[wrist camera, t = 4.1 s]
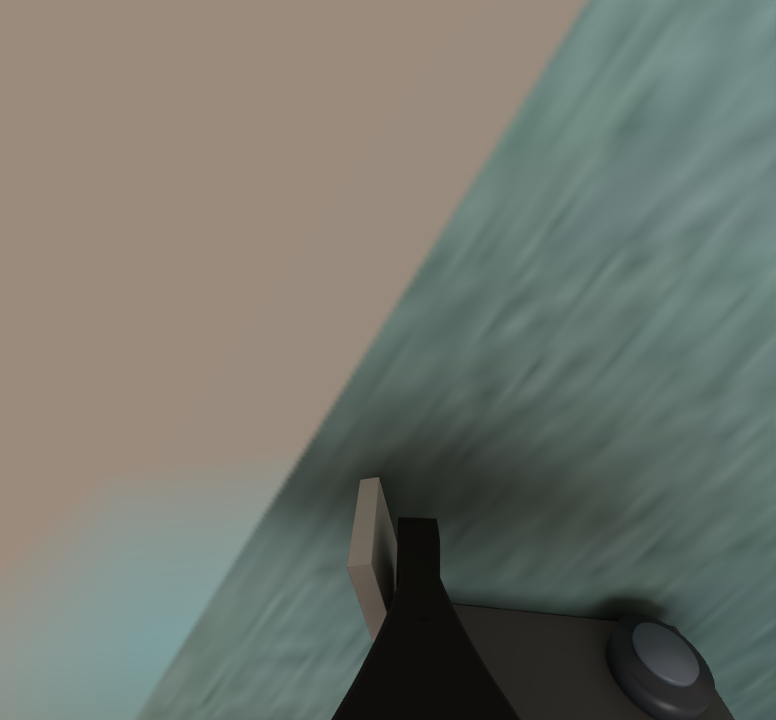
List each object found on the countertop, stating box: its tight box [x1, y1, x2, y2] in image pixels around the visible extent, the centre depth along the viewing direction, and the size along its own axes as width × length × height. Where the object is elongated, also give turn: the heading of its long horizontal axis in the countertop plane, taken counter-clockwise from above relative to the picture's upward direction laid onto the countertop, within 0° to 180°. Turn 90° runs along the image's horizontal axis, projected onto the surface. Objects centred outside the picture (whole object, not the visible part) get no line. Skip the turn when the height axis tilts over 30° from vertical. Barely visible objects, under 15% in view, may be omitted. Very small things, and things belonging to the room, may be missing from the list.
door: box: [347, 477, 397, 643], centre depth 12 cm, size 6×1×3 cm, turn 12°
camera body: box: [452, 604, 735, 720], centre depth 14 cm, size 10×7×4 cm
